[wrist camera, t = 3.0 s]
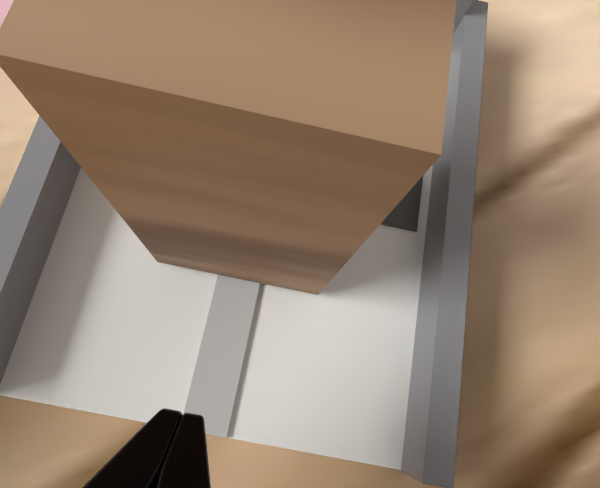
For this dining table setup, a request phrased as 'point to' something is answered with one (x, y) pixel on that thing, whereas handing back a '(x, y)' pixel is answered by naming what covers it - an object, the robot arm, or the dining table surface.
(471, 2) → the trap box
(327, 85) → the slider
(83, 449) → the dining table surface
